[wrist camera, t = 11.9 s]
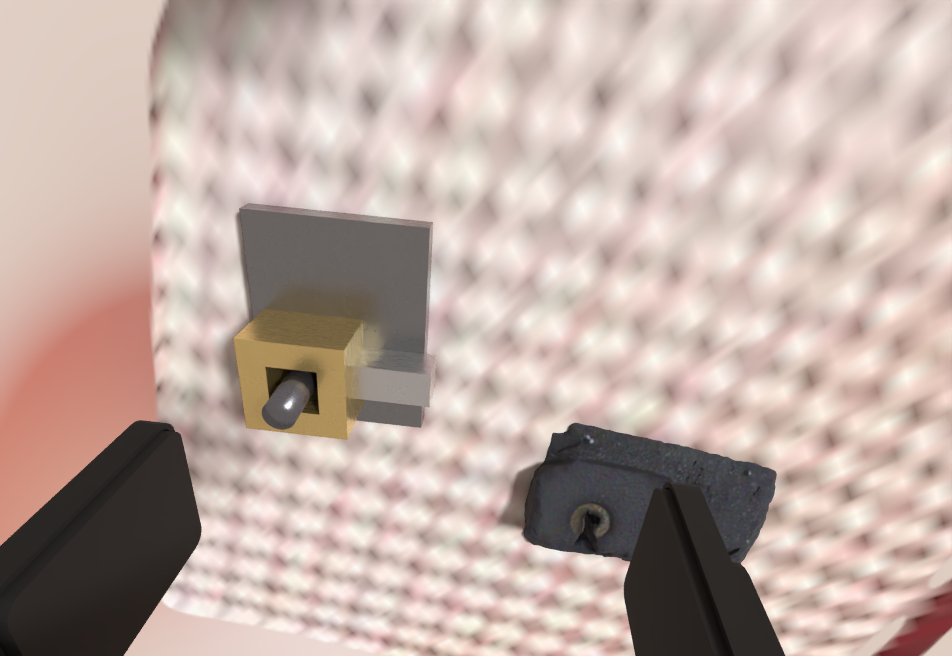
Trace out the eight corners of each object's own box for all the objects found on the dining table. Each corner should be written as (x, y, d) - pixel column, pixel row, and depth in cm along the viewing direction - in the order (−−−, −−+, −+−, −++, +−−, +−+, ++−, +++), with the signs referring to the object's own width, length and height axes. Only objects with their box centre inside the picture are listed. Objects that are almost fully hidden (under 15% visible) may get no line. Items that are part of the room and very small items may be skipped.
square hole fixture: (248, 203, 39) (201, 227, 33) (446, 223, 39) (433, 251, 33) (271, 399, 47) (237, 446, 42) (434, 418, 47) (422, 468, 41)
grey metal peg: (302, 343, 43) (259, 399, 36) (331, 346, 43) (294, 403, 35) (304, 368, 44) (263, 427, 37) (332, 371, 44) (297, 431, 37)
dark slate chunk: (718, 574, 54) (734, 617, 50) (511, 530, 53) (510, 570, 49) (788, 463, 47) (815, 503, 43) (551, 412, 46) (554, 447, 42)
